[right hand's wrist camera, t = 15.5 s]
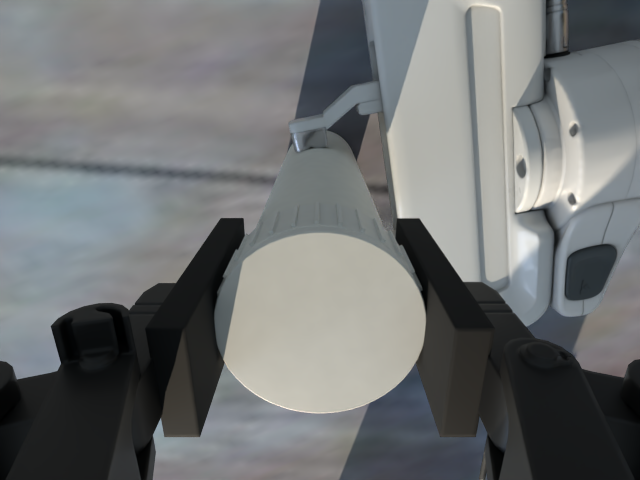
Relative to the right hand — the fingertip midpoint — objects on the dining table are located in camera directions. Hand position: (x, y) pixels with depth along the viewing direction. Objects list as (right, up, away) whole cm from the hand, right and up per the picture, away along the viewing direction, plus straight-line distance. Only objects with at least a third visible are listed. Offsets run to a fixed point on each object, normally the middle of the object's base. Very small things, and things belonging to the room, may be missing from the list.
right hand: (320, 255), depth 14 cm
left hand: (-1, +3, +8) cm, 9 cm away
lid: (0, -2, -4) cm, 4 cm away
